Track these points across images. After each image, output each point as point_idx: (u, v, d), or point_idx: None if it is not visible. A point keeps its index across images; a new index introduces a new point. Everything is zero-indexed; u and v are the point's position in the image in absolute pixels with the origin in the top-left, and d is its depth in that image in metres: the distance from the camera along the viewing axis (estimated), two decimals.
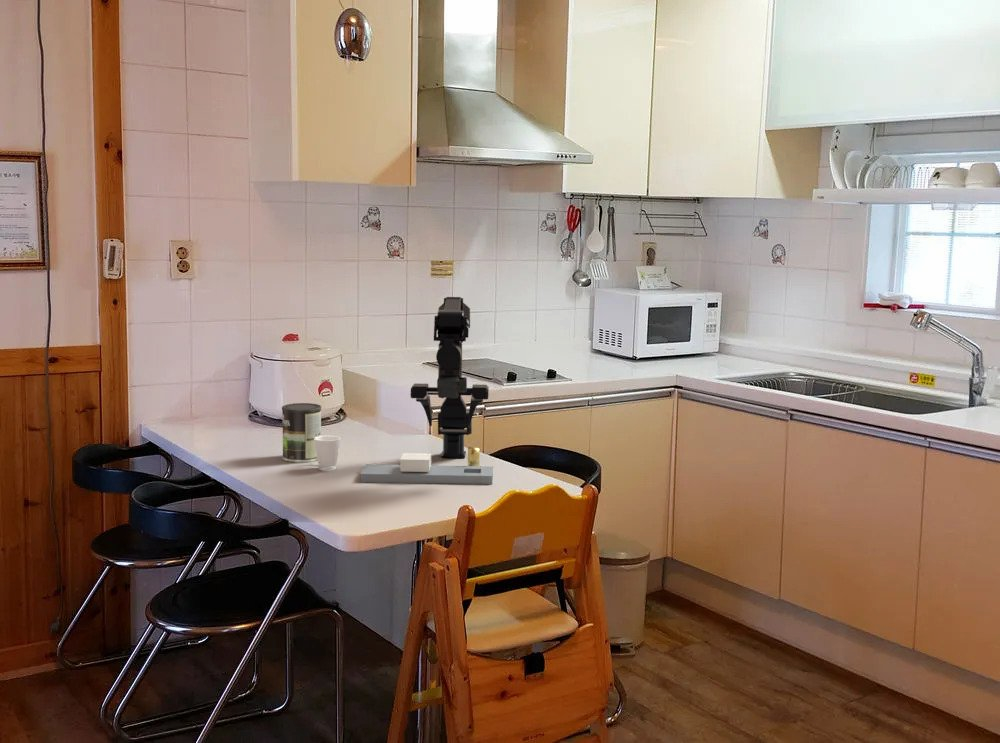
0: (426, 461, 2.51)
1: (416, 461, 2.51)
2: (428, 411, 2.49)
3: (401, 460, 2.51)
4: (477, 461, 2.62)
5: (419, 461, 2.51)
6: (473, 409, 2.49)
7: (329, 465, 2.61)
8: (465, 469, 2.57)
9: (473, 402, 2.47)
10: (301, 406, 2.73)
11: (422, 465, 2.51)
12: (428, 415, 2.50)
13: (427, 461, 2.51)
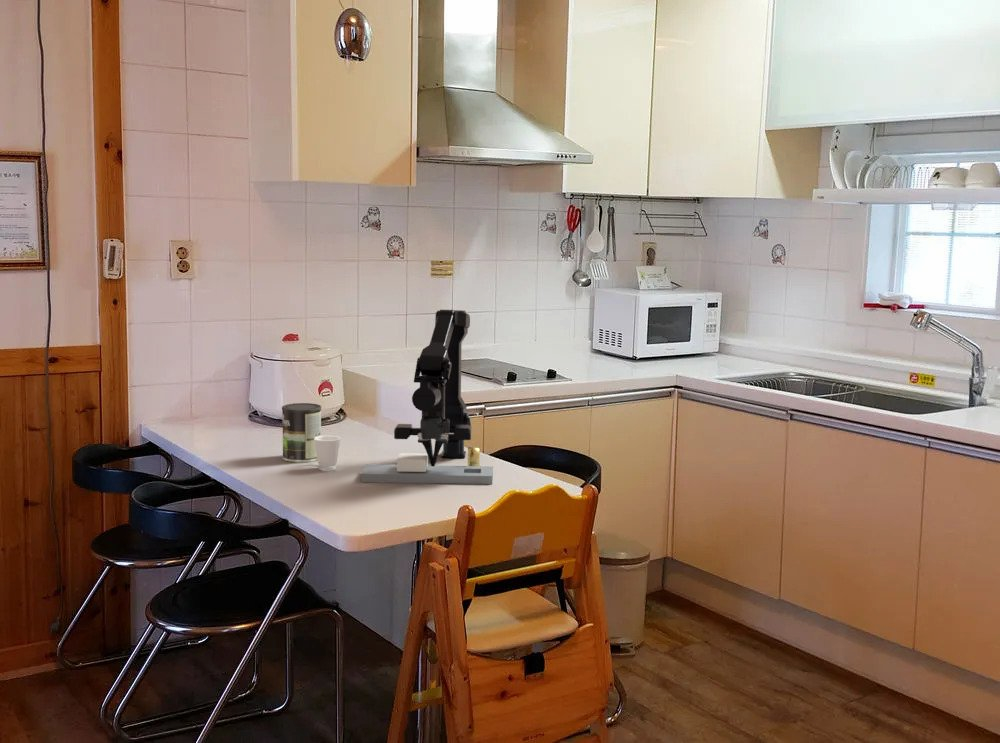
0: (423, 461, 2.51)
1: (413, 461, 2.51)
2: (429, 452, 2.53)
3: (398, 460, 2.51)
4: (477, 461, 2.62)
5: (415, 461, 2.51)
6: (438, 449, 2.53)
7: (329, 465, 2.61)
8: (465, 469, 2.57)
9: (438, 442, 2.51)
10: (301, 406, 2.73)
11: (419, 465, 2.51)
12: (429, 456, 2.53)
13: (424, 461, 2.51)
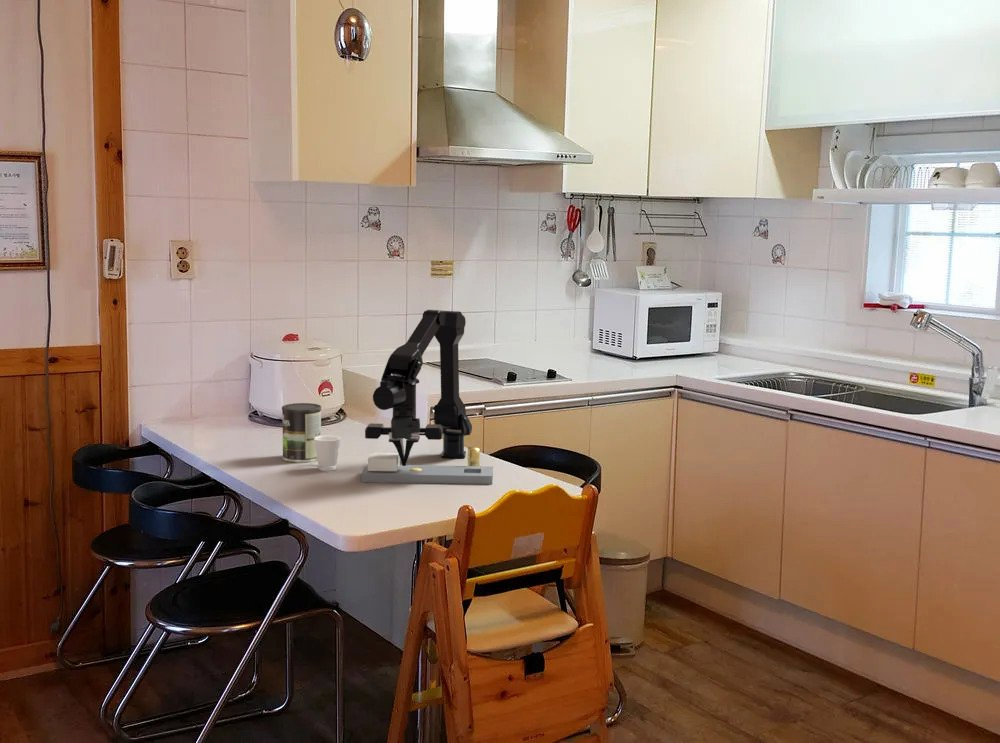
0: (393, 460, 2.51)
1: (383, 460, 2.51)
2: (401, 451, 2.53)
3: (368, 459, 2.51)
4: (477, 461, 2.62)
5: (386, 460, 2.51)
6: (409, 449, 2.53)
7: (329, 465, 2.61)
8: (465, 469, 2.57)
9: (408, 442, 2.51)
10: (301, 406, 2.73)
11: (389, 464, 2.51)
12: (401, 455, 2.53)
13: (394, 460, 2.51)
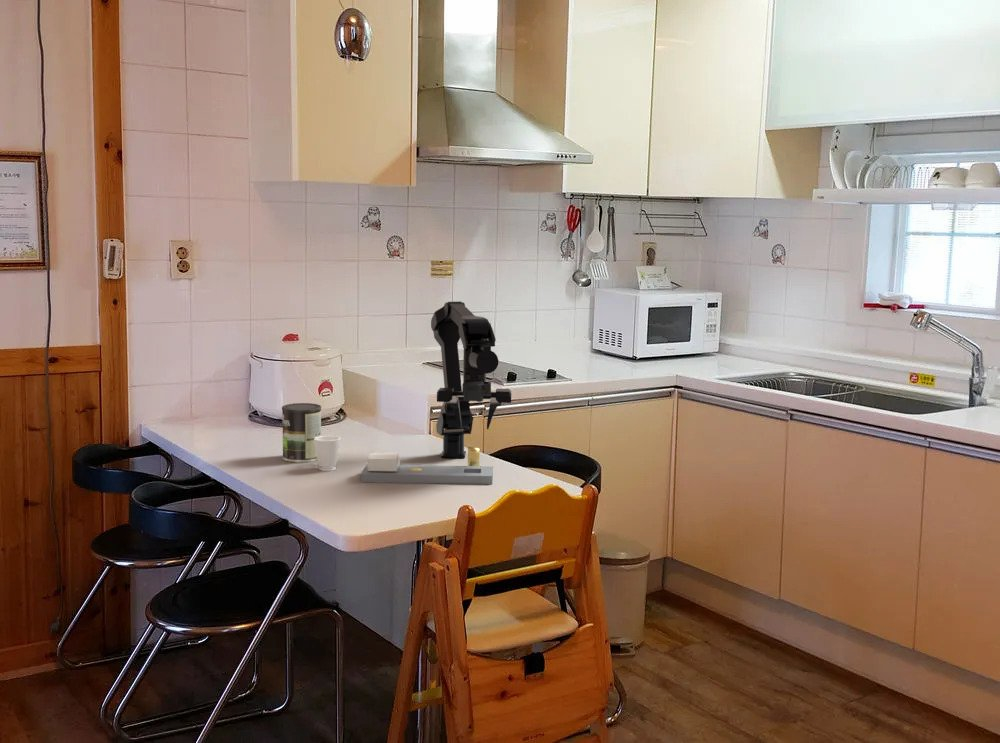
0: (393, 460, 2.51)
1: (383, 460, 2.51)
2: (458, 414, 2.60)
3: (368, 459, 2.51)
4: (477, 461, 2.62)
5: (386, 460, 2.51)
6: (492, 412, 2.60)
7: (329, 465, 2.61)
8: (465, 469, 2.57)
9: (492, 405, 2.58)
10: (301, 406, 2.73)
11: (389, 464, 2.51)
12: (458, 418, 2.60)
13: (394, 460, 2.51)
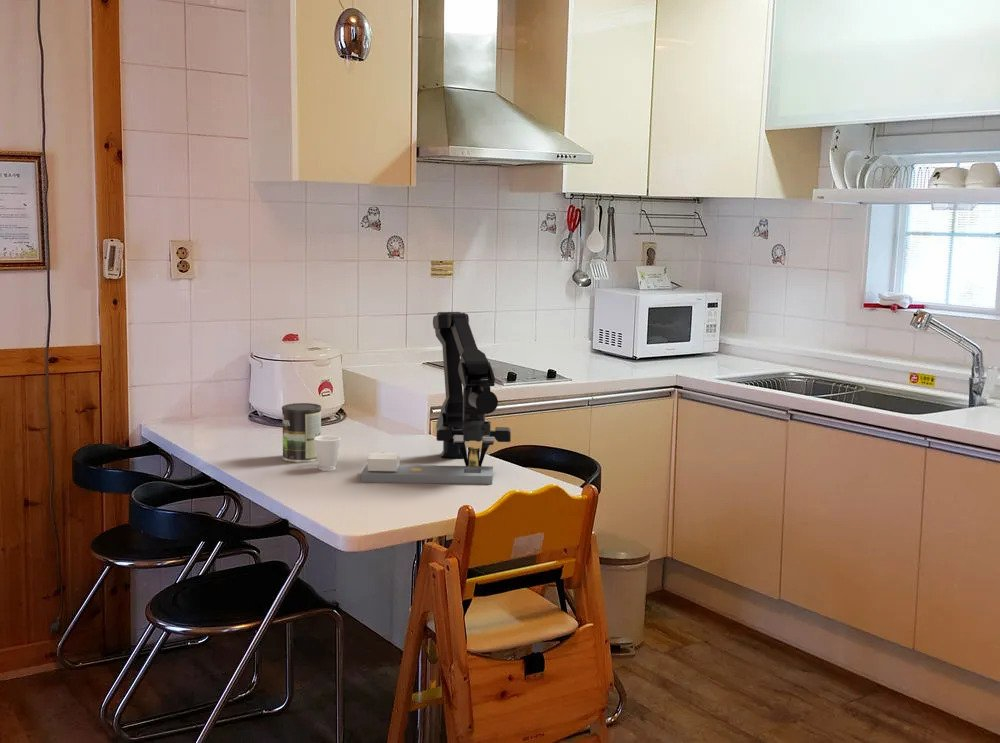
0: (393, 460, 2.51)
1: (383, 460, 2.51)
2: (464, 453, 2.61)
3: (368, 459, 2.51)
4: (477, 461, 2.62)
5: (386, 460, 2.51)
6: (484, 451, 2.61)
7: (329, 465, 2.61)
8: (465, 469, 2.57)
9: (484, 444, 2.59)
10: (301, 406, 2.73)
11: (389, 464, 2.51)
12: (464, 457, 2.62)
13: (394, 460, 2.51)
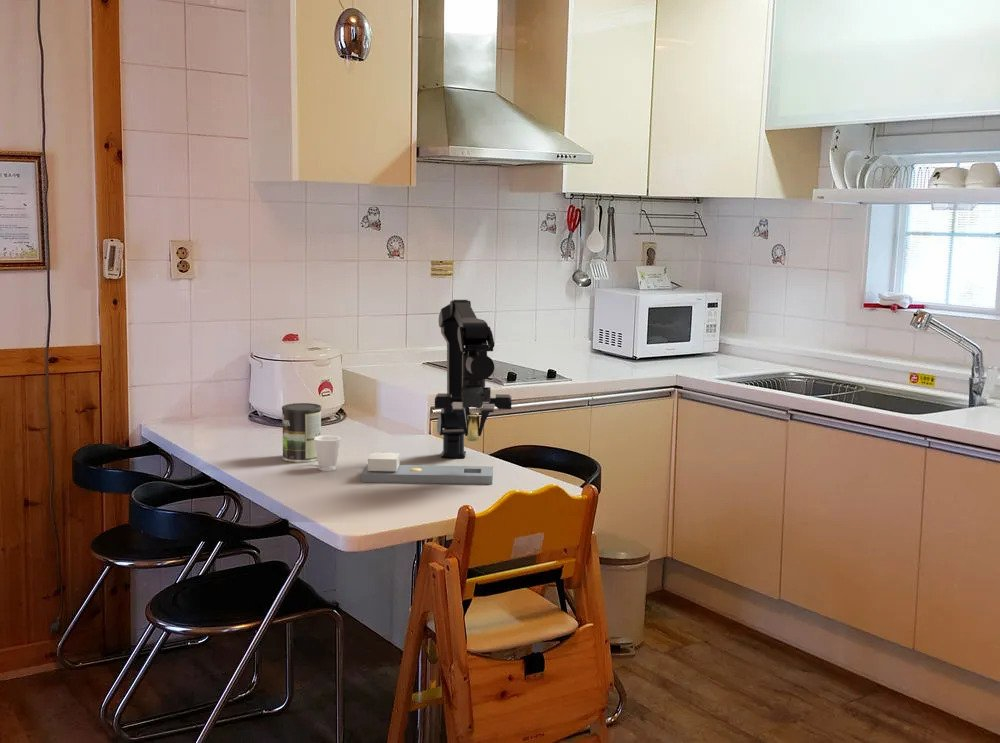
0: (393, 460, 2.51)
1: (383, 460, 2.51)
2: (464, 421, 2.52)
3: (368, 459, 2.51)
4: (477, 429, 2.52)
5: (386, 460, 2.51)
6: (484, 418, 2.52)
7: (329, 465, 2.61)
8: (465, 469, 2.57)
9: (484, 412, 2.50)
10: (301, 406, 2.73)
11: (389, 464, 2.51)
12: (464, 425, 2.52)
13: (394, 460, 2.51)
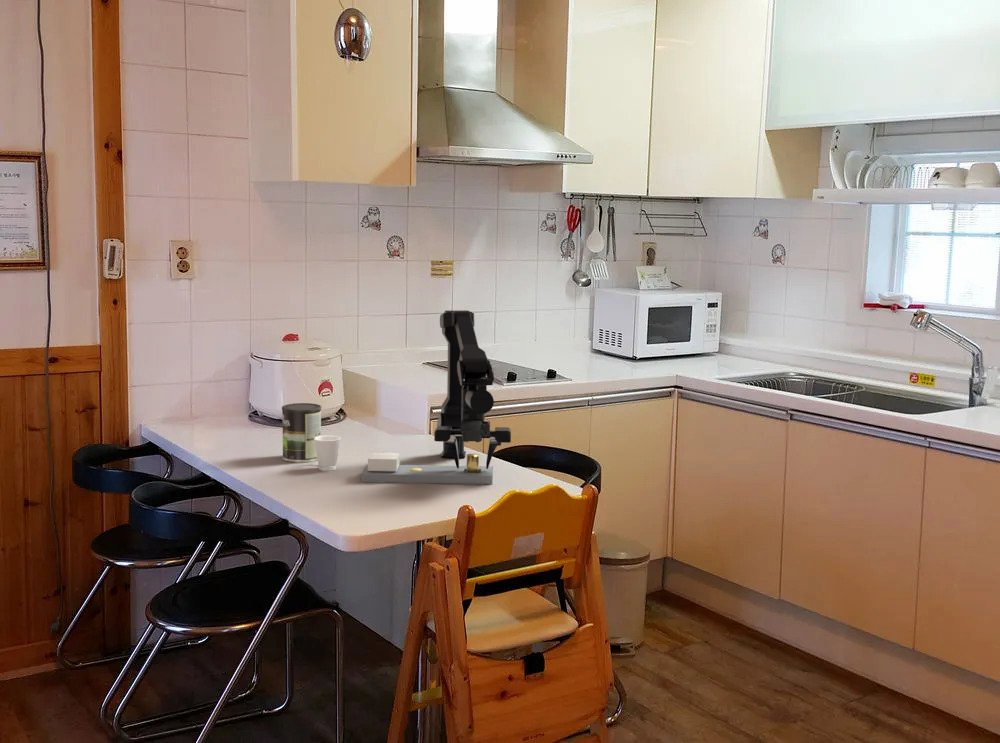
0: (393, 460, 2.51)
1: (383, 460, 2.51)
2: (455, 454, 2.53)
3: (368, 459, 2.51)
4: (476, 468, 2.54)
5: (386, 460, 2.51)
6: (492, 452, 2.53)
7: (329, 465, 2.61)
8: (465, 469, 2.57)
9: (492, 445, 2.51)
10: (301, 406, 2.73)
11: (389, 464, 2.51)
12: (455, 458, 2.54)
13: (394, 460, 2.51)
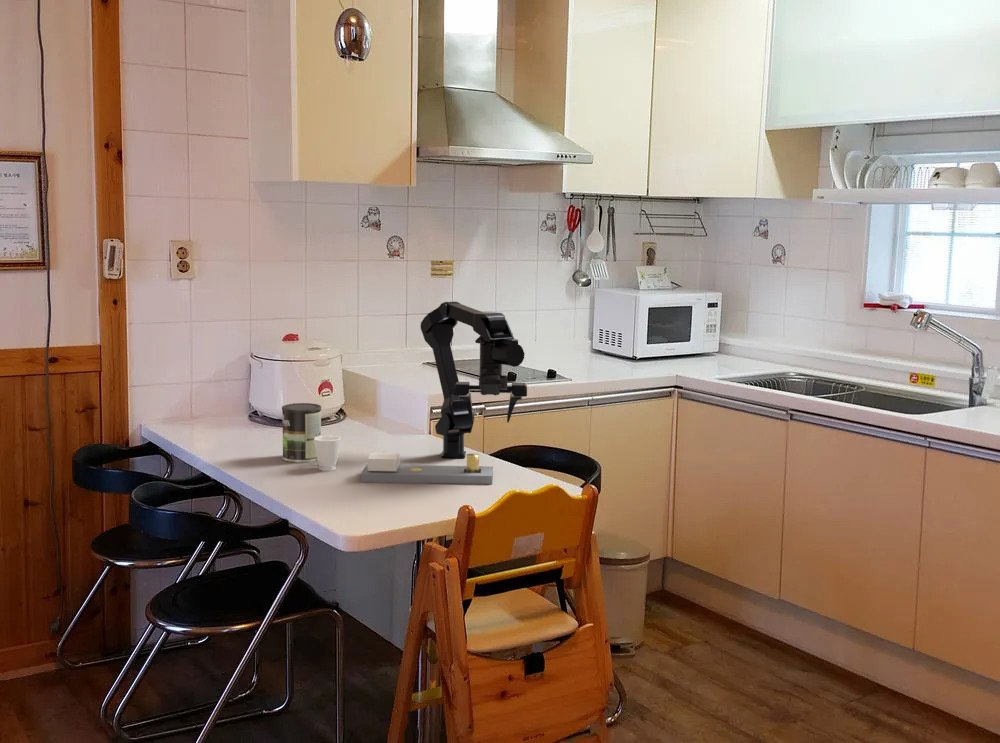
0: (393, 460, 2.51)
1: (383, 460, 2.51)
2: (470, 408, 2.64)
3: (368, 459, 2.51)
4: (476, 468, 2.54)
5: (386, 460, 2.51)
6: (512, 406, 2.63)
7: (329, 465, 2.61)
8: (465, 469, 2.57)
9: (513, 399, 2.62)
10: (301, 406, 2.73)
11: (389, 464, 2.51)
12: (470, 411, 2.64)
13: (394, 460, 2.51)
